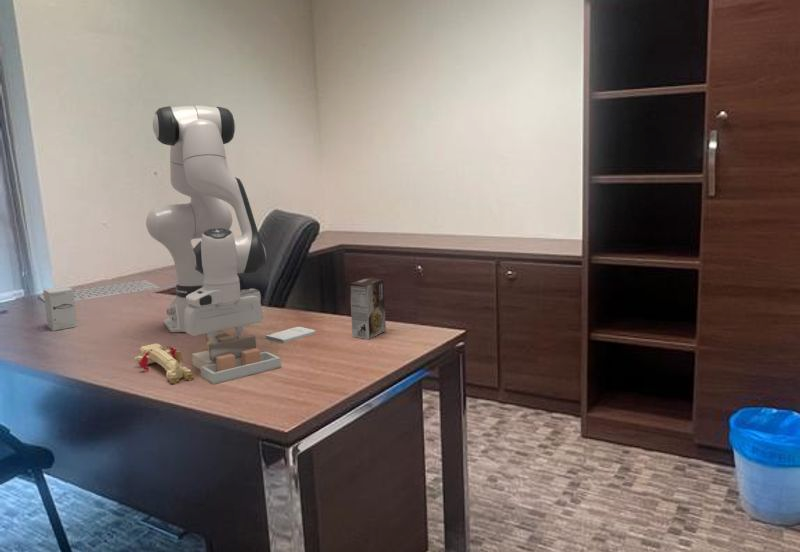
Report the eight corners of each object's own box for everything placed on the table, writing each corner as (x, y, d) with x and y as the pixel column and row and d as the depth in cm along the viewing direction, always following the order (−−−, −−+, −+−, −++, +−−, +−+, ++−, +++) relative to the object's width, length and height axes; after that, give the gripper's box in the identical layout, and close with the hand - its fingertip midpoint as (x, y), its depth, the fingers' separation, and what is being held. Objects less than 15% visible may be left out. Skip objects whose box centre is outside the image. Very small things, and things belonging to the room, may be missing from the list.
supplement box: (53, 331, 218) (48, 292, 215) (47, 327, 223) (42, 289, 221) (77, 327, 222) (73, 289, 220) (71, 323, 228) (67, 285, 226)
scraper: (191, 351, 180) (190, 336, 180) (234, 342, 188) (232, 327, 187) (212, 361, 170) (210, 345, 169) (256, 351, 177) (255, 336, 176)
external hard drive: (265, 340, 201) (298, 330, 210) (283, 345, 196) (316, 335, 205) (265, 335, 201) (297, 325, 210) (283, 339, 195) (315, 329, 204)
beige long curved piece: (202, 382, 169) (165, 353, 188) (200, 349, 167) (163, 322, 185) (162, 392, 163) (128, 361, 182) (160, 358, 161) (125, 329, 179)
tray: (201, 376, 169) (200, 366, 169) (267, 360, 180) (266, 351, 179) (213, 384, 163) (212, 373, 163) (281, 367, 174) (280, 357, 174)
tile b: (240, 351, 174) (245, 353, 172) (255, 348, 176) (259, 350, 174) (242, 366, 174) (246, 368, 172) (256, 363, 177) (260, 365, 175)
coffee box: (368, 329, 207) (366, 277, 204) (386, 332, 204) (384, 278, 201) (351, 337, 199) (348, 283, 196) (369, 339, 196) (367, 284, 193)
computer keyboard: (47, 306, 257) (47, 302, 256) (37, 299, 271) (37, 295, 271) (162, 289, 282) (161, 285, 282) (147, 283, 297) (147, 279, 297)
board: (192, 365, 178) (191, 353, 178) (242, 353, 187) (241, 343, 186) (208, 374, 171) (207, 362, 170) (259, 361, 179) (258, 350, 178)
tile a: (215, 356, 170) (219, 359, 168) (230, 353, 172) (235, 355, 170) (217, 372, 170) (221, 374, 168) (232, 368, 173) (236, 371, 171)
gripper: (254, 285, 183) (258, 335, 185) (179, 297, 170) (184, 351, 173) (265, 288, 178) (269, 339, 180) (188, 301, 165) (193, 356, 168)
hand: (226, 345), depth 177 cm, fingers closed on scraper, 3 cm apart
